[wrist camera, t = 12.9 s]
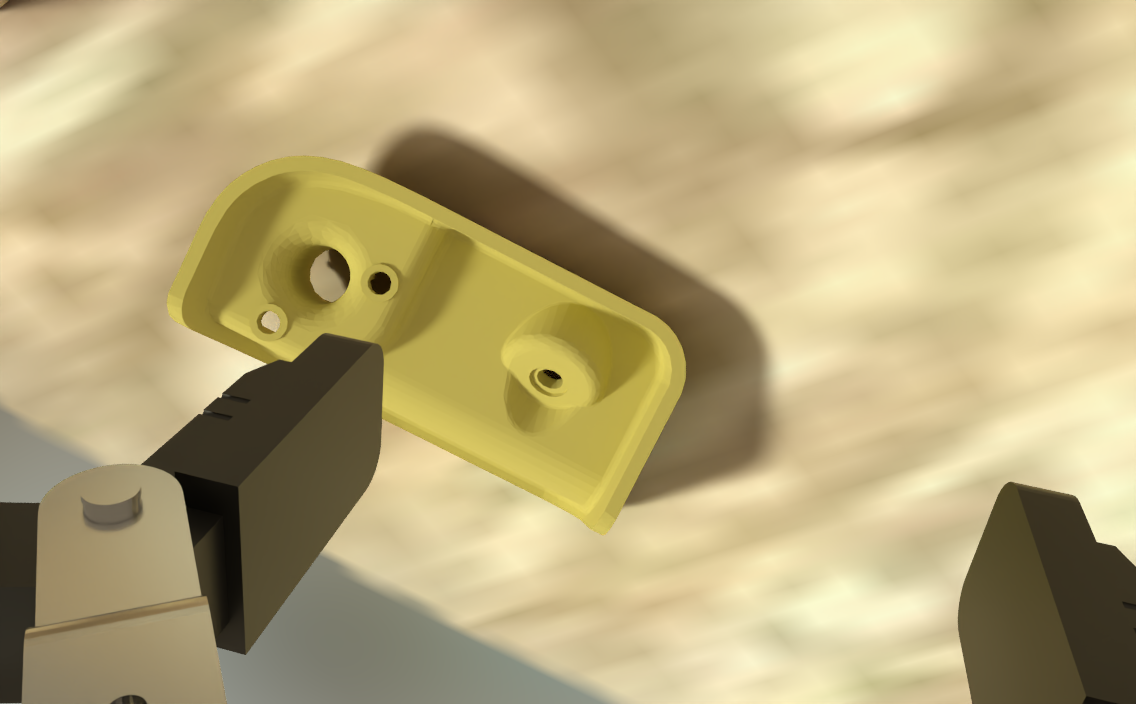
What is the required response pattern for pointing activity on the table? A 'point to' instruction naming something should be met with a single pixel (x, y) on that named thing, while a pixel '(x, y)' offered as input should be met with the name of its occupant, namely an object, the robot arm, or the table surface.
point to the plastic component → (442, 327)
